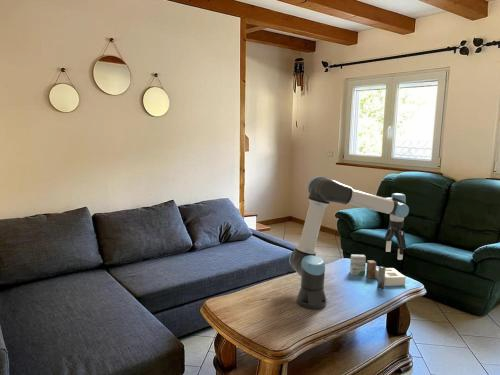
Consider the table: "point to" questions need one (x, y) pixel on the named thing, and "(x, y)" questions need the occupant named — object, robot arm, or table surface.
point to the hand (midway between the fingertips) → (393, 255)
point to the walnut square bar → (371, 269)
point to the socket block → (392, 277)
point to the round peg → (381, 277)
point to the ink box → (357, 264)
